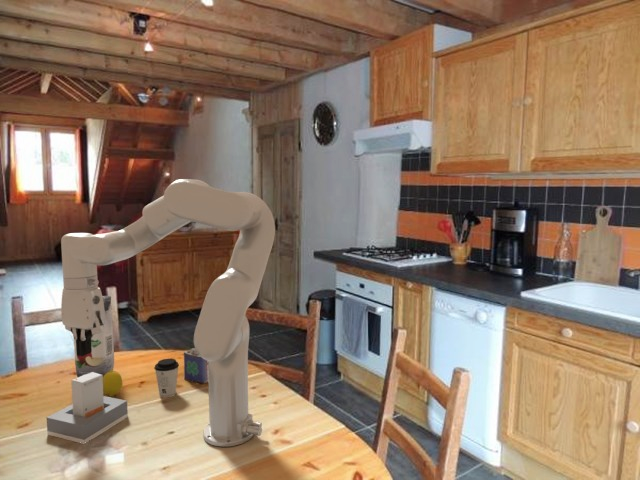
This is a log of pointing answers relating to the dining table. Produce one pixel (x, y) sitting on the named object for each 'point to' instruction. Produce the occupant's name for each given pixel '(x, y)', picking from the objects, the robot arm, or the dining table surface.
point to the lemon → (112, 383)
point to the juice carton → (99, 348)
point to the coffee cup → (167, 377)
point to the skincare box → (87, 394)
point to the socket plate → (86, 421)
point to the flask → (195, 367)
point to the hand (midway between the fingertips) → (84, 354)
